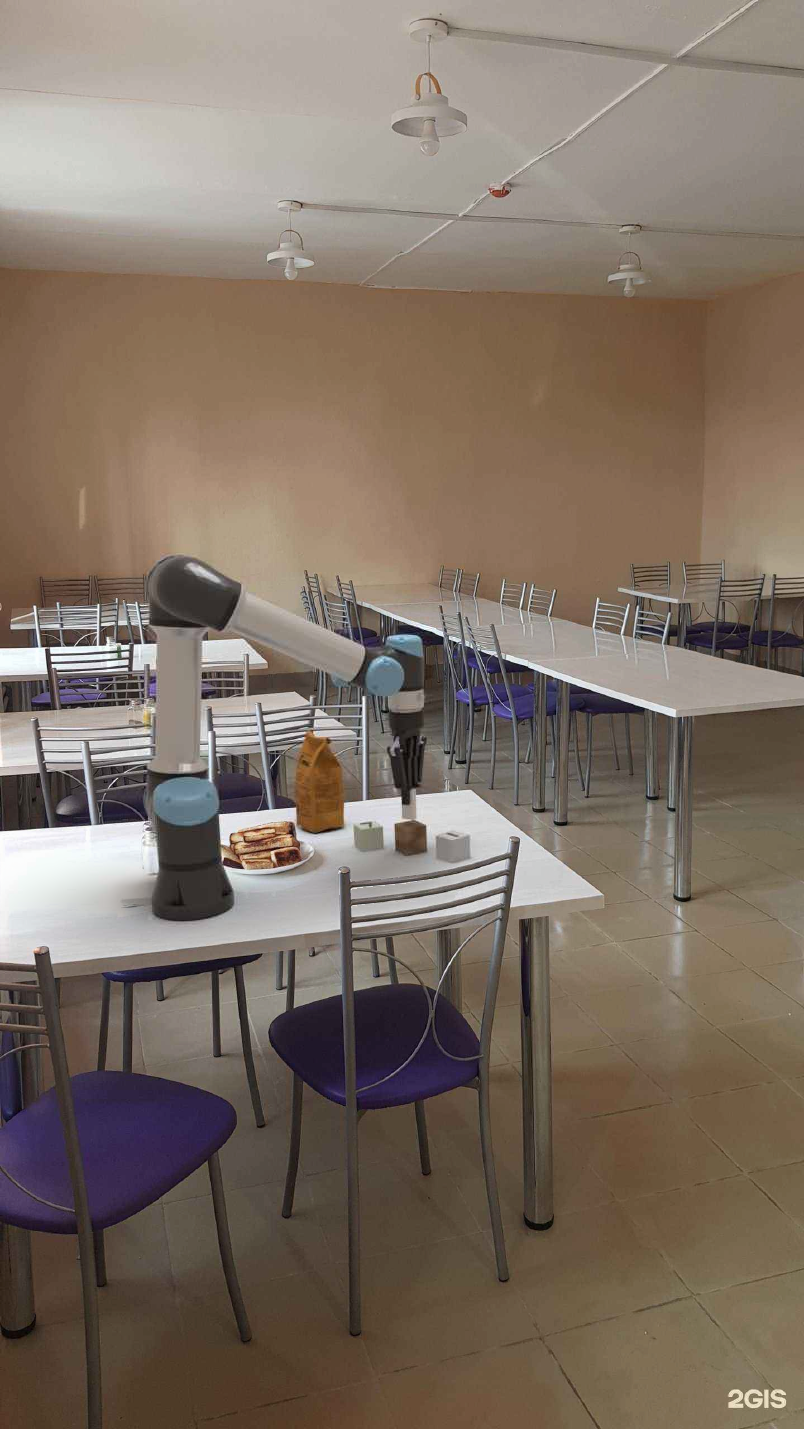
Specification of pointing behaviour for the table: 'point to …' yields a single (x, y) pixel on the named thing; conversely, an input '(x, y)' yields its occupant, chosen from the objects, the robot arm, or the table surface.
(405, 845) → the plain walnut block
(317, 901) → the table surface
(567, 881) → the table surface
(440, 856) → the grey numbered block
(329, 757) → the coffee package
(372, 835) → the sage numbered block
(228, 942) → the table surface
